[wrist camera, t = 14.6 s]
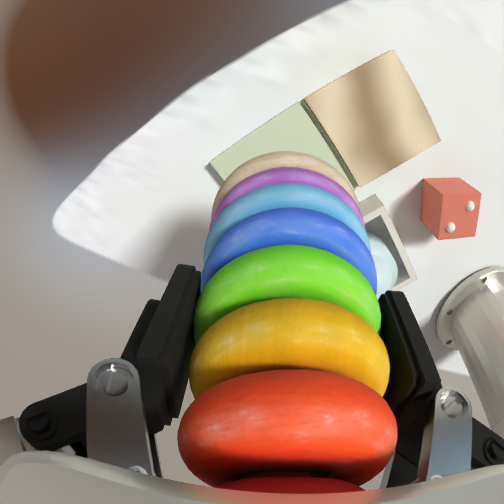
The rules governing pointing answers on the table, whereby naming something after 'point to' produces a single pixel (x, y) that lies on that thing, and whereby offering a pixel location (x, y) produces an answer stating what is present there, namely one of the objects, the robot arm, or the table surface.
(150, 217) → the table surface
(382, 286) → the dome
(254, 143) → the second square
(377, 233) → the popper housing
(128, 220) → the table surface
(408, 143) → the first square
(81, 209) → the table surface
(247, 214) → the stacking toy
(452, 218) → the die
